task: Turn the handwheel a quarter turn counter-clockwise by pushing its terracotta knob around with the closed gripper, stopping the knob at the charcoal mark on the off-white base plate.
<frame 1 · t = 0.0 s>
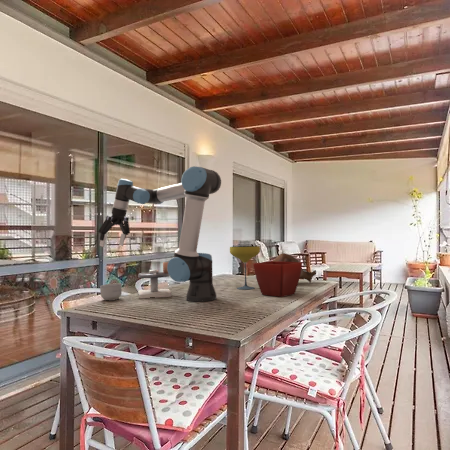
hand: (111, 245, 206), 28 cm above the table, fingers open, 13 cm apart
wheel stand: (154, 295, 210), on the table
plant pot: (278, 295, 201), on the table
handwheel: (153, 269, 211), point 14 cm above the table, hinge at 0.0°
cocktail glass: (245, 288, 228), on the table
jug: (292, 284, 245), on the table
teacup: (112, 299, 200), on the table
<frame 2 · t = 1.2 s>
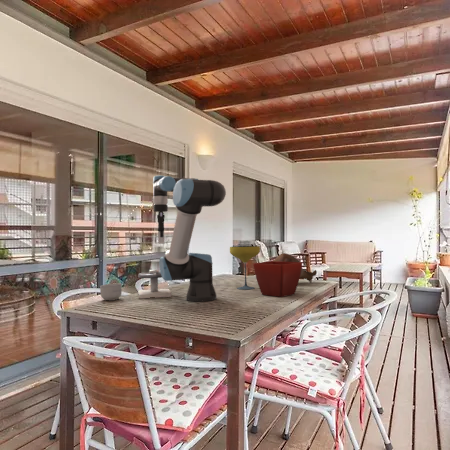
hand: (161, 243, 208), 28 cm above the table, fingers open, 13 cm apart
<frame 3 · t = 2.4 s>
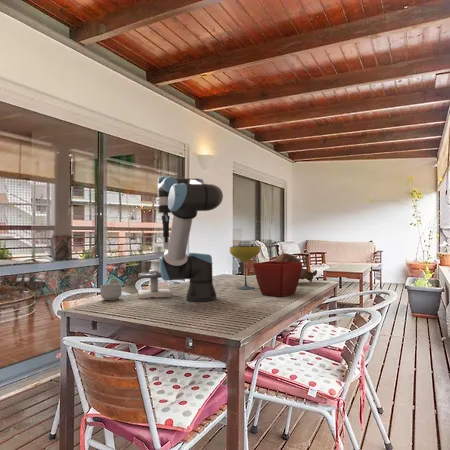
hand: (166, 248, 207), 26 cm above the table, fingers closed
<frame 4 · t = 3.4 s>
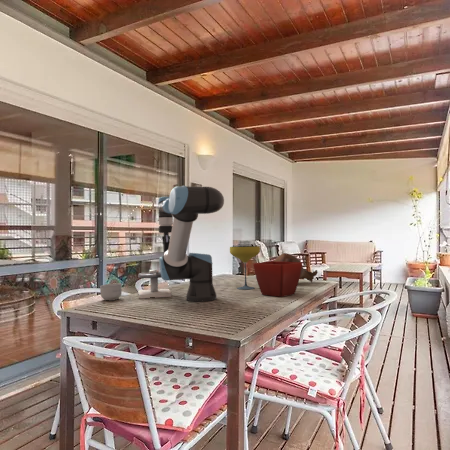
hand: (166, 269, 207), 14 cm above the table, fingers closed
nothing on the table moved.
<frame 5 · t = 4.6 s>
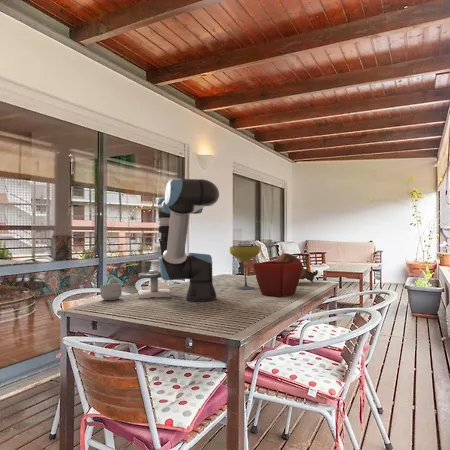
hand: (166, 268, 211), 15 cm above the table, fingers closed
handwheel: (153, 269, 211), point 14 cm above the table, hinge at 7.1°, touching gripper
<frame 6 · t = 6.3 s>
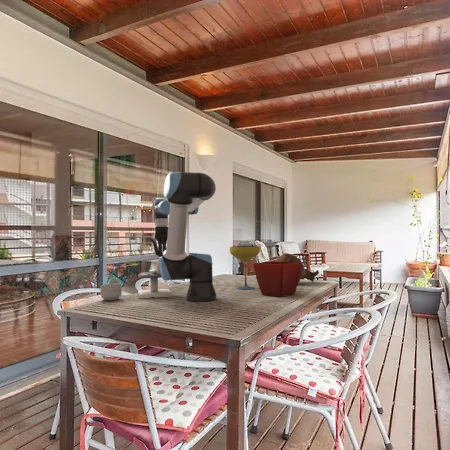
hand: (163, 267, 216), 14 cm above the table, fingers closed
handwheel: (153, 269, 211), point 14 cm above the table, hinge at 57.7°, touching gripper
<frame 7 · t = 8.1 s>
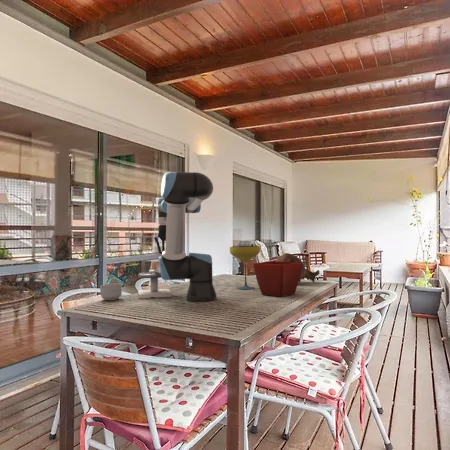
hand: (166, 266, 218), 15 cm above the table, fingers closed
handwheel: (153, 269, 211), point 14 cm above the table, hinge at 84.9°
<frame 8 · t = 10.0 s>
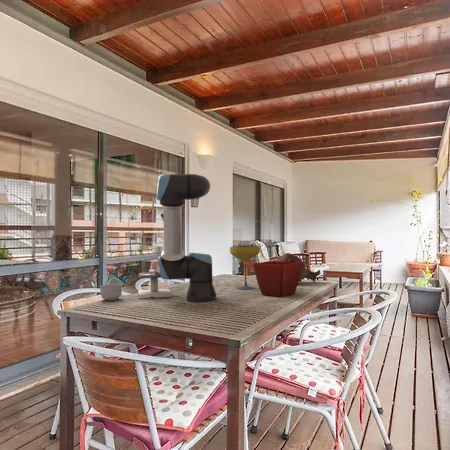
hand: (172, 242, 220), 28 cm above the table, fingers closed
at the end: handwheel at +85° (first picture: +0°); the gripper is holding nothing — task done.
